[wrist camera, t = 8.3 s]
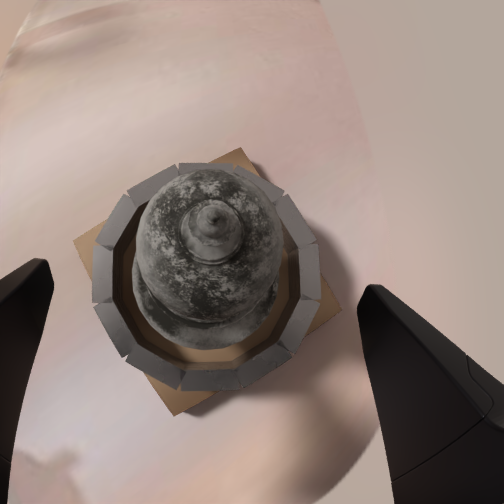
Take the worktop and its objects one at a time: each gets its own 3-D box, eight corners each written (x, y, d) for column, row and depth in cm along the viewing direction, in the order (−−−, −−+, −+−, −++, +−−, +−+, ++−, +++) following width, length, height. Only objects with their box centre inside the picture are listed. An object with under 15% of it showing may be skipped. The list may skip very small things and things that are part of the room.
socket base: (333, 309, 18) (359, 309, 15) (175, 409, 16) (170, 430, 12) (238, 156, 18) (245, 129, 15) (80, 244, 16) (58, 232, 13)
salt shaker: (276, 244, 17) (418, 125, 5) (244, 354, 15) (350, 463, 4) (168, 209, 16) (118, 29, 4) (132, 319, 15) (-23, 345, 3)
